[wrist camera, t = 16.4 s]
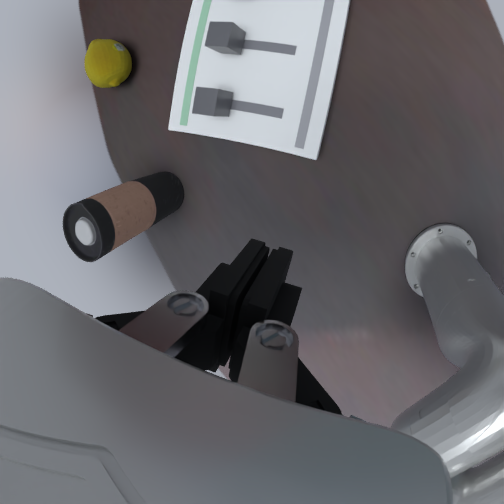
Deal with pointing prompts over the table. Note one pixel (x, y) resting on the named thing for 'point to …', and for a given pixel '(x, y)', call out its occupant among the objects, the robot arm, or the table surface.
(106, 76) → the lemon
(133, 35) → the table surface
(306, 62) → the breaker panel
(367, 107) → the table surface
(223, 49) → the block
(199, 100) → the block
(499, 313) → the robot arm
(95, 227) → the travel mug
